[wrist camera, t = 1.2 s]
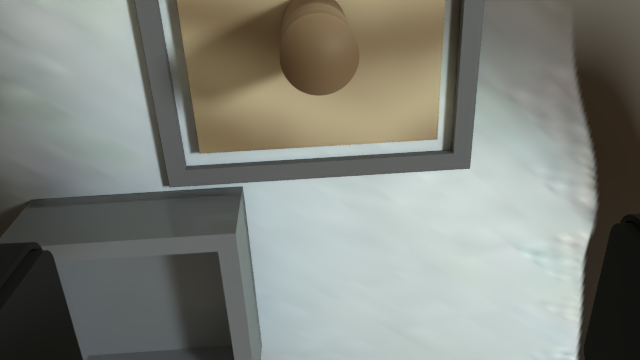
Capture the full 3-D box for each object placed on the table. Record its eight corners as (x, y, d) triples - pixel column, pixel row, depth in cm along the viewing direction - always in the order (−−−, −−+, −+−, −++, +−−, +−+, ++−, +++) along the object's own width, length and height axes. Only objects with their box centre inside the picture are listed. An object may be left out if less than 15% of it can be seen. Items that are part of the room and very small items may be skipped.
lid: (163, -117, 26) (122, -120, 19) (445, -130, 26) (497, -138, 20) (203, 144, 32) (181, 208, 25) (432, 131, 32) (468, 190, 26)
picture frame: (106, -167, 24) (102, -168, 24) (497, -185, 25) (500, -186, 24) (171, 183, 32) (169, 187, 32) (467, 164, 32) (469, 168, 32)
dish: (31, 199, 32) (-10, 249, 28) (242, 186, 32) (235, 233, 28) (81, 356, 37) (54, 419, 33) (261, 344, 38) (258, 404, 33)
